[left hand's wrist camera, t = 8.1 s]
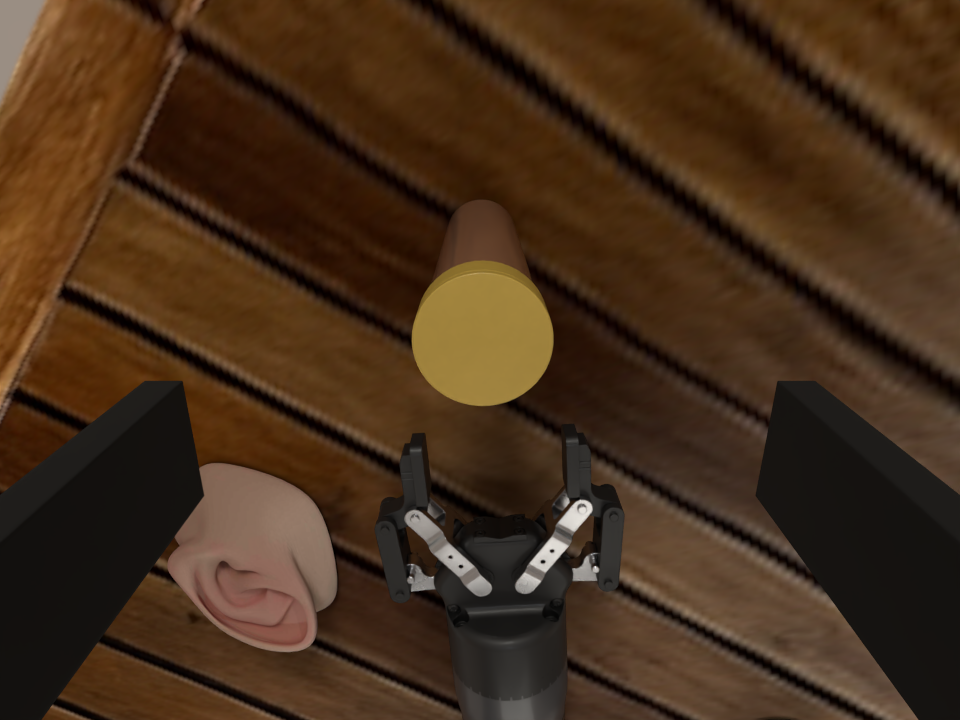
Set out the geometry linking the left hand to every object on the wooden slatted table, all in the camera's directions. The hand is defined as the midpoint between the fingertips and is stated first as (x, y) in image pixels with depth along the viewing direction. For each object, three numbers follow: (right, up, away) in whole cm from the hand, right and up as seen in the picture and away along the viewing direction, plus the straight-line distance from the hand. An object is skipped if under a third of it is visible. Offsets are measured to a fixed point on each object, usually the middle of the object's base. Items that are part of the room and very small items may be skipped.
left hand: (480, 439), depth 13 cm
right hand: (+1, -3, +21) cm, 22 cm away
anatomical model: (-16, -11, +32) cm, 37 cm away
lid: (0, +2, +6) cm, 7 cm away
